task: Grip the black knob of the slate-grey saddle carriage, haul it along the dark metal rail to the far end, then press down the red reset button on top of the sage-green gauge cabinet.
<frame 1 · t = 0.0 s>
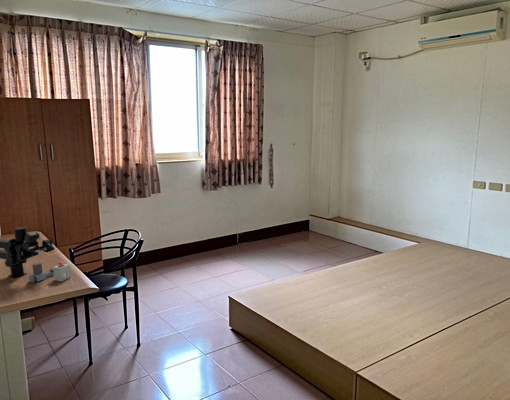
hand: (46, 251, 217), 16 cm above the table, tool horizontal, fingers open, 9 cm apart
reset button: (61, 265, 223), point 7 cm above the table, slide at 0.0 cm
gauge cabinet: (62, 278, 224), on the table
carriage: (37, 271, 223), point 4 cm above the table, slide at 0.0 cm
rail: (43, 278, 226), on the table
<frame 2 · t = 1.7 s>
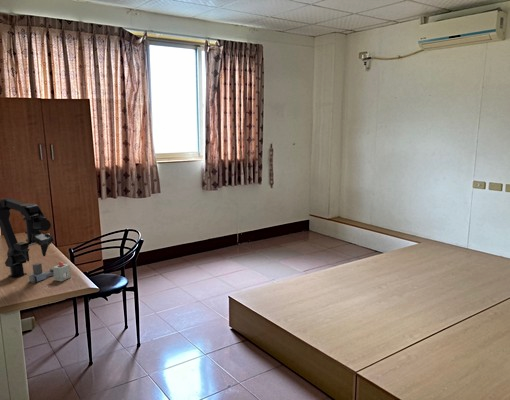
hand: (36, 258, 222), 11 cm above the table, tool pointing down, fingers open, 9 cm apart
nothing on the table moved.
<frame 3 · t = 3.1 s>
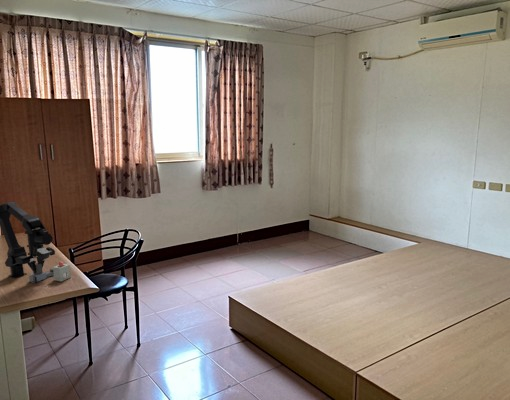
hand: (37, 272, 223), 4 cm above the table, tool pointing down, fingers closed on carriage, 3 cm apart
carriage: (37, 271, 223), point 4 cm above the table, slide at 0.0 cm, touching gripper
everything else where it was.
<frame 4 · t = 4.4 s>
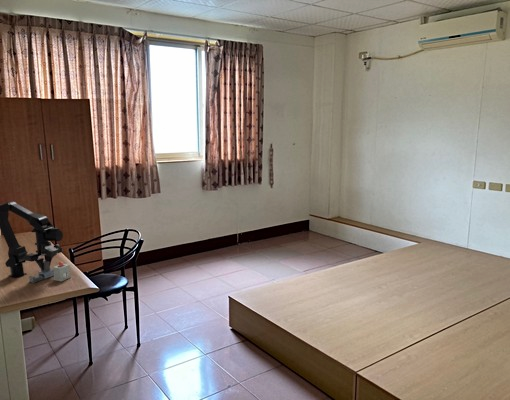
hand: (45, 269, 227), 4 cm above the table, tool pointing down, fingers closed on carriage, 3 cm apart
carriage: (45, 269, 227), point 4 cm above the table, slide at 4.5 cm, touching gripper
everything else where it was.
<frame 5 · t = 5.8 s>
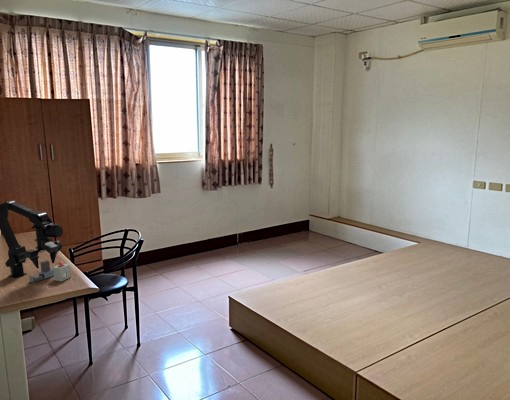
hand: (45, 265, 227), 6 cm above the table, tool pointing down, fingers open, 9 cm apart
carriage: (45, 269, 227), point 4 cm above the table, slide at 4.6 cm
everything else where it was.
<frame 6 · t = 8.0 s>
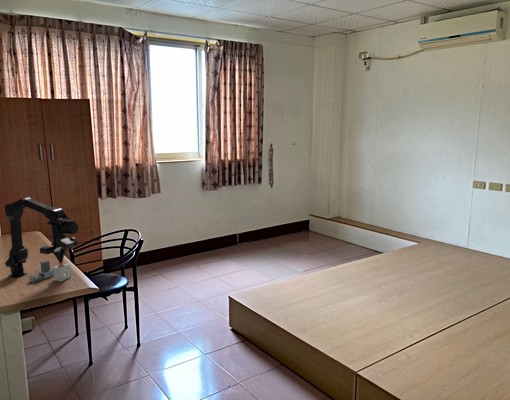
hand: (60, 262, 223), 9 cm above the table, tool pointing down, fingers closed, pressing on reset button
reset button: (61, 265, 223), point 7 cm above the table, slide at 0.1 cm, touching gripper
everything else where it was.
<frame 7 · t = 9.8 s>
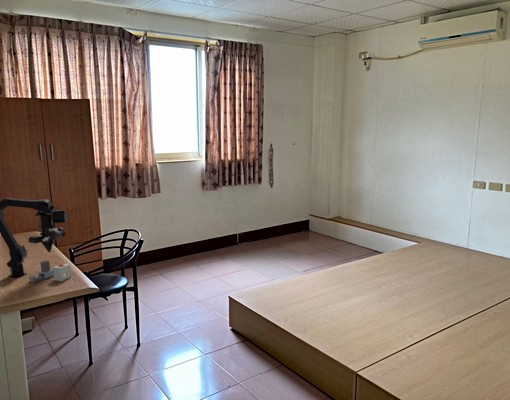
hand: (49, 251, 231), 12 cm above the table, tool pointing down, fingers closed
reset button: (61, 267, 223), point 6 cm above the table, slide at 0.9 cm
everything else where it was.
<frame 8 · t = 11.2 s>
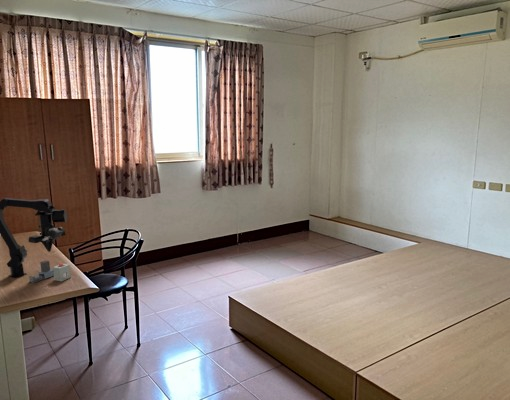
hand: (49, 251, 232), 12 cm above the table, tool pointing down, fingers closed
nothing on the table moved.
at the end: carriage slide at 4.6 cm; reset button slide at 0.9 cm; the gripper is holding nothing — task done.
